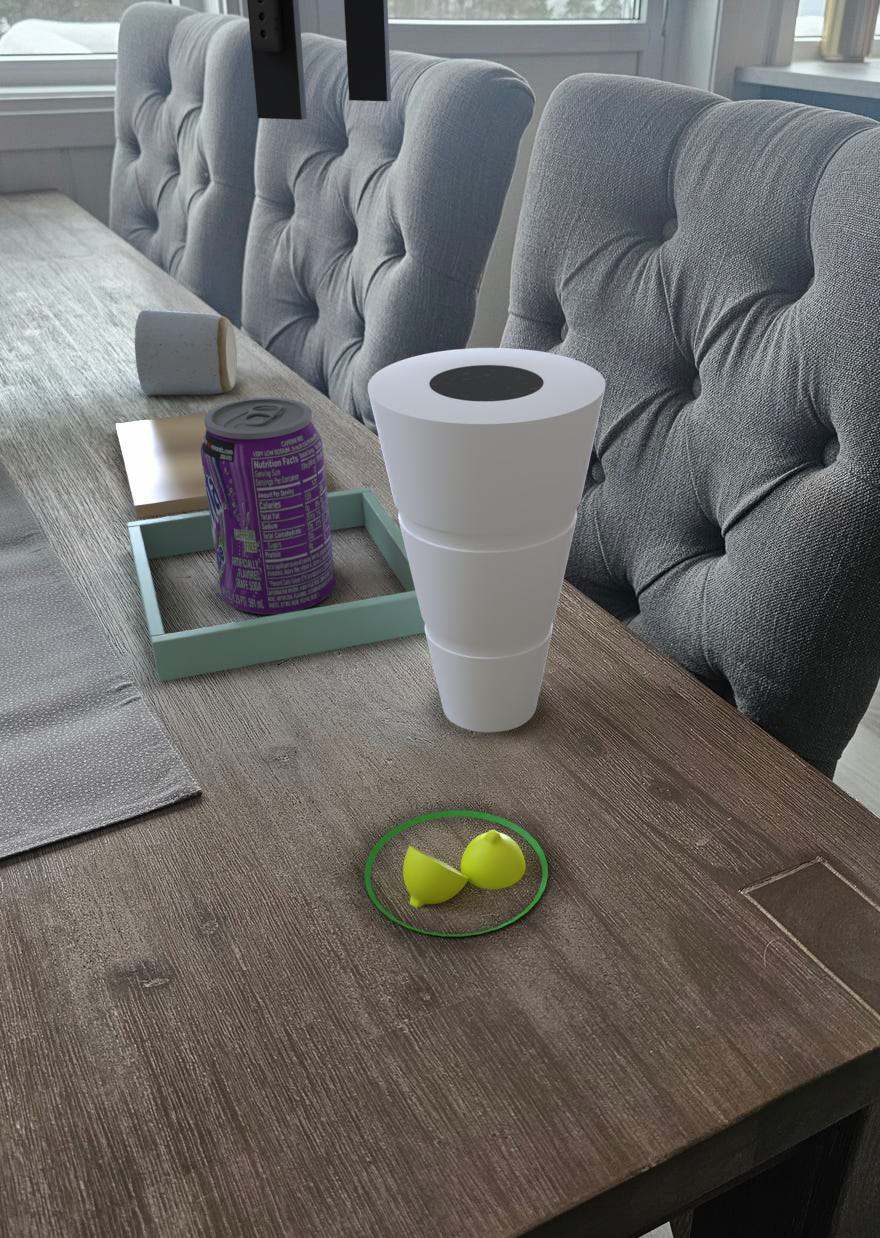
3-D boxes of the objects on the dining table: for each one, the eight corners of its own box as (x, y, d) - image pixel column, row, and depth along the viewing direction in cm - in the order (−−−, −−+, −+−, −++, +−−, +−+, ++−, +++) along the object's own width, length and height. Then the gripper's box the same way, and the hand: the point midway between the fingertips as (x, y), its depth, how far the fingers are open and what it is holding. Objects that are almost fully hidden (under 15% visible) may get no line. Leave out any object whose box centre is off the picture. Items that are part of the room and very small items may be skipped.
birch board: (328, 496, 85) (327, 478, 84) (138, 525, 81) (134, 505, 80) (282, 419, 99) (280, 403, 98) (118, 440, 95) (115, 423, 94)
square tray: (160, 689, 62) (151, 643, 61) (134, 562, 76) (126, 522, 74) (444, 635, 67) (443, 591, 65) (372, 525, 80) (369, 486, 79)
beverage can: (248, 567, 75) (224, 391, 68) (350, 576, 74) (335, 398, 67) (205, 619, 69) (174, 431, 63) (315, 629, 68) (295, 440, 61)
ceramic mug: (232, 405, 102) (221, 319, 98) (141, 407, 102) (126, 321, 98) (247, 371, 111) (237, 291, 107) (163, 373, 111) (150, 293, 107)
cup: (365, 684, 63) (339, 364, 53) (539, 645, 66) (544, 337, 56) (429, 794, 54) (412, 438, 45) (625, 744, 58) (649, 402, 48)
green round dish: (464, 978, 44) (463, 926, 43) (326, 887, 49) (321, 837, 47) (584, 871, 50) (586, 822, 48) (449, 798, 54) (448, 751, 52)
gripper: (261, -429, 47) (301, 130, 58) (445, -300, 68) (449, 95, 79) (104, -413, 49) (172, 125, 60) (330, -292, 69) (350, 93, 80)
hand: (329, 109), depth 69 cm, fingers open, 13 cm apart
